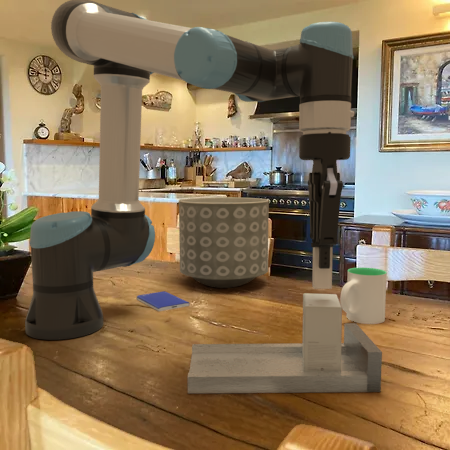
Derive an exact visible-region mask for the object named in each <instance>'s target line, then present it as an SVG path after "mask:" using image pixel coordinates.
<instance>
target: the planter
mask: <svg viewBox="0 0 450 450" xmlns="http://www.w3.org/2000/svg"><path fill="white" fill-rule="evenodd" d="M269 201H270V200H269V199H267V198H258V197H256V198H255V197H226V196H225V197H224V196H223V197H220V196H219V197H194V198H193V197H192V198H191V197H190V198H181V199H179V200H178V216H179V217H178V220H179V221H178V224H179V227H178V228H179V229H178V230H179V232H178V233H179V272H180V274H182V275H185V276H187V277H191V278H192V279H193V280H195V281H196V282H198V283H200V284H202V285H204V286H208V287H211V288H217V289H218V288H220V289H229V288H230V289H231V288H237V287H241V286H243V285H245V284H247V283H250V282H252V281H253V280H254V279H255V278H257V277H261V276H264V275H266V274H267V273H268V271H269V212H270V211H269V210H270V209H269V206H270V205H269Z"/></svg>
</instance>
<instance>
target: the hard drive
mask: <svg viewBox="0 0 450 450" xmlns="http://www.w3.org/2000/svg"><path fill="white" fill-rule="evenodd" d="M136 301H138V302H140V303H143V304H144V305H146V306H148V307H150V308H151V309H154V310H155V311H157V312H162V311H163V312H164V311H169V310H176V309H179V308H184V307H189V306H190V302H189V301H186V300H184V299H183V298H180V297H178V296H176V295H173V294H172V293H170V292H167V291H166V290H165V291H157V292H152V293H151V292H150V293H143V294H138V295H136Z"/></svg>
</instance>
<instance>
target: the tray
mask: <svg viewBox="0 0 450 450" xmlns="http://www.w3.org/2000/svg"><path fill="white" fill-rule="evenodd" d="M343 325H344V329H343V343H342V342H341V371H322V372H304V365H303V354H302V343H297V342H296V343H194V344H193V343H192V346H191V358H190V364H189V365H190V367H189V372H188V373H187V394H258V393H259V394H262V393H263V394H271V393H272V394H275V393H276V394H278V393H282V394H284V393H285V394H288V393H289V394H290V393H292V394H293V393H303V394H304V393H381V390H382V363H383V362H382V359H383V355H382V354H383V352H382V350H381V349H380V348H379V347H378V345H376V344H375V343H374V341H373V340H372V339H371V338H370V337H369V336H368V335H367V334H366V333H365V332H364V330H363V329H362V328H361V327H360V326H359V325H358V323H357V322H353V323H350V322H349V323H344V324H343Z"/></svg>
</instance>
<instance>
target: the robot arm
mask: <svg viewBox="0 0 450 450" xmlns="http://www.w3.org/2000/svg"><path fill="white" fill-rule="evenodd" d="M50 23H51V25H50V29H51V36H52V39H53V41H54V43H55V45H56V46H57V48H58V50H60V52H61V53H63V54H64V55H65V56H67V58H70V59H72V60H73V61H76V62H79V63H82V64H86V65H91V66H93V78H94V80H95V81H96V82H97V83H98V84H99V86H100V108H99V109H100V110H99V111H100V112H99V113H100V116H99V118H100V119H99V120H100V121H99V123H100V124H99V128H100V129H99V162H98V163H99V164H98V165H99V167H98V169H99V170H98V174H99V175H98V199H97V200H96V201H95V203H93V204H91V207H90V208H91V209H90V212H88V211H83V210H82V211H80V210H79V211H76V210H75V211H68V212H58V213H54V214H53V213H52V214H49V215H45V216H41V217H40V218H37V219H36V220H35V221H33V222H32V224H31V226H30V235H29V236H30V238H29V239H30V240H29V246H30V258H31V274H32V292H33V293H32V296H31V300H30V303H29V307H28V311H27V314H26V317H25V334H26V335H27V336H29V337H31V338H33V339H37V340H38V339H39V340H44V341H45V340H47V341H49V340H51V341H53V340H54V341H56V340H57V341H58V340H69V339H75V338H81V337H84V336H87V335H90V334H93V333H95V332H97V331H99V330H101V329H102V328H103V326H104V315H103V314H104V312H103V310H102V307H101V305H100V302H99V300H98V297H97V295H96V292H95V289H94V273H96V272H101V271H106V270H111V269H117V268H121V267H122V268H124V267H125V268H127V267H130V266H132V265H136V264H139V263H142V262H143V261H145V260H146V259H147V258H148V257H149V256H150V254H151V253H152V251H153V249H154V246H155V241H156V240H155V239H156V232H155V231H156V230H155V227H154V226H155V225H152V224H153V221H152V219H151V218H150V217H149V216H148V215H147V214H146V207H145V206H144V205H143V204H142V203H141V202H140V200H139V199H140V197H139V196H140V195H139V194H140V193H139V192H140V167H141V166H140V164H141V139H142V138H141V136H142V107H143V106H142V105H143V89H144V88H145V87H146V86H147V85H148V84H150V81H151V77H150V76H151V75H153V74H158V75H161V76H164V77H165V76H166V77H169V78H173V79H176V80H180V81H184V82H185V83H187V84H190V85H193V86H195V87H197V88H201V89H205V90H215V91H221V92H228V93H232V94H235V96H237V97H238V98H239V100H241V101H242V102H247V103H248V102H249V103H250V102H251V103H253V102H257V103H262V102H263V103H264V102H266V101H271V100H280V99H286V98H295V97H296V98H297V97H299V108H298V109H299V114H298V115H299V117H298V119H299V121H298V122H299V125H298V127H299V128H298V130H299V132H301V133H303V134H302V135H300V137H299V142H298V143H299V145H298V146H299V148H298V149H299V152H298V153H299V154H298V156H299V159H300V160H301V161H312V163H313V164H312V169H311V170H312V171H311V172H308V180H307V186H308V197H309V198H308V201H309V203H308V205H309V237H310V238H309V239H311V242H310V247H311V248H312V273H311V274H312V280H311V281H312V284H311V285H312V286H311V287H312V288H313V289H314V290H328V289H329V290H332V289H333V282H332V281H333V248H334V246H336V245H337V244H338V232H339V231H338V230H339V219H340V208H341V206H340V205H341V196H342V192H343V191H342V190H343V187H344V182H343V180H341V174H340V172H338V165H337V161H346V160H349V159H350V158H351V136H350V134H347V132H348V131H350V130H351V123H352V122H351V121H352V118H353V117H354V116H355V111H354V110H351V108H352V85H353V84H352V83H353V82H352V81H353V80H352V79H353V62H354V61H353V60H354V53H353V52H354V51H353V49H354V48H353V32H352V30H351V28H350V27H349V26H348V25H347V24H344V23H343V22H338V21H319V22H313V23H311V24H309V25H308V26H307V25H306V26H305V27H304V28H302V29H301V31H300V32H301V33H300V39H299V44H295V45H293V46H292V45H291V46H288V47H283V48H277V49H269V48H267V47H264V46H261V45H257V44H256V43H252V42H249V41H248V40H247V41H244V40H242V39H240V38H237V37H233V36H232V35H228V34H225V33H224V32H223V31H220V30H217V29H214V28H209V27H202V26H195V27H188V26H183V25H177V24H171V23H166V22H160V21H156V20H155V21H154V20H149V19H146V18H145V17H142V16H140V15H139V14H136V13H135V12H129V11H125V10H122V9H119V8H115V7H112V6H109V5H105V4H103V3H99V2H97V1H93V0H67V1H65V2H63V3H62V4H60V6H59V7H57V8H56V10H55V11H54V13H53V15H52V18H51V22H50Z"/></svg>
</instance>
